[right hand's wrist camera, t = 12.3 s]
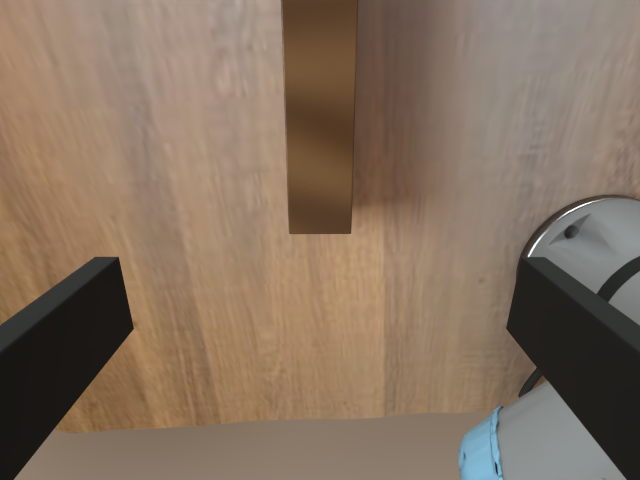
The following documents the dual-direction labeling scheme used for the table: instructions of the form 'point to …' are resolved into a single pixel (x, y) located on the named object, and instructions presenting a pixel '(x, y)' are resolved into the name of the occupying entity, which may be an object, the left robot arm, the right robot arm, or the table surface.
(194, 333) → the table surface
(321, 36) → the post
